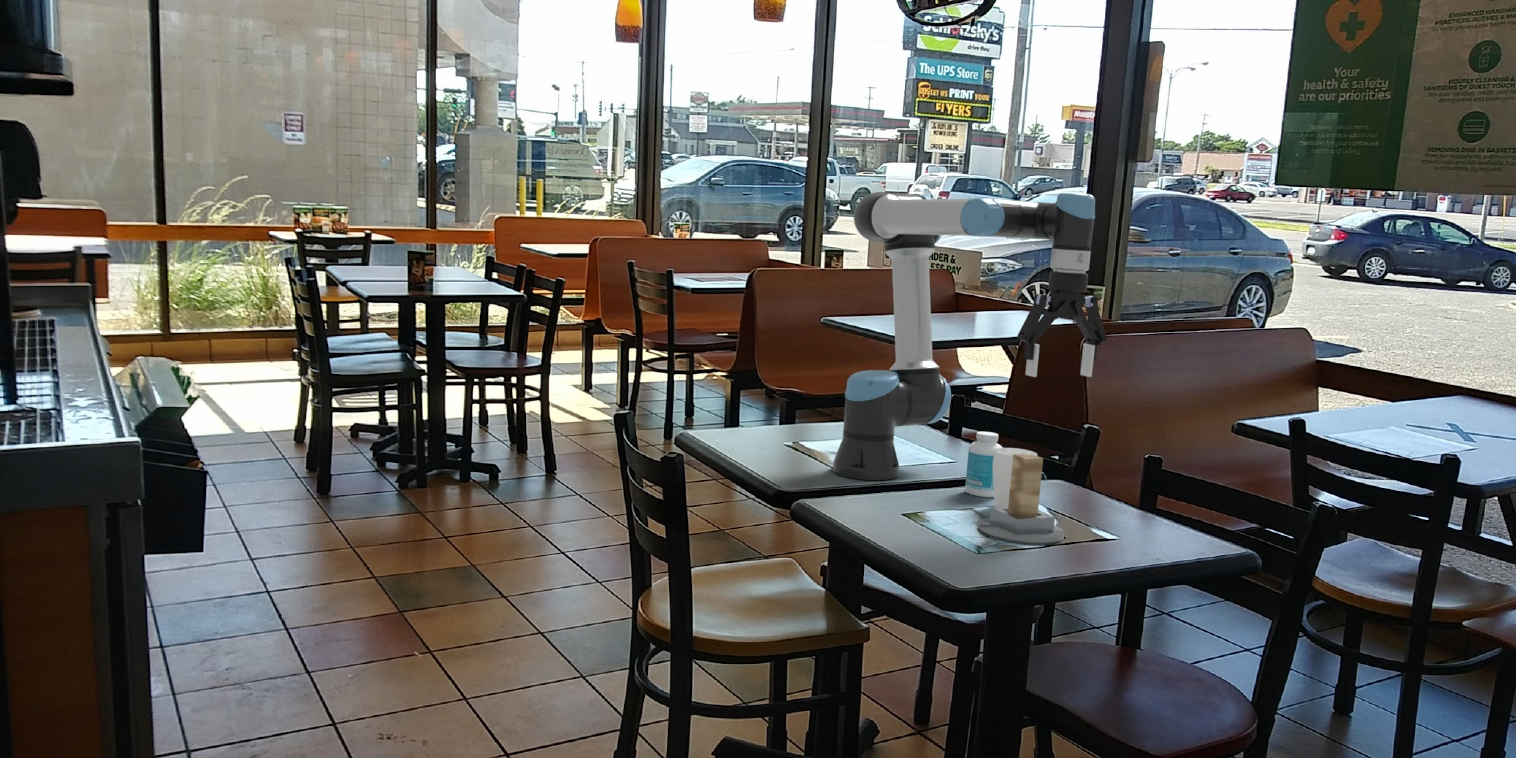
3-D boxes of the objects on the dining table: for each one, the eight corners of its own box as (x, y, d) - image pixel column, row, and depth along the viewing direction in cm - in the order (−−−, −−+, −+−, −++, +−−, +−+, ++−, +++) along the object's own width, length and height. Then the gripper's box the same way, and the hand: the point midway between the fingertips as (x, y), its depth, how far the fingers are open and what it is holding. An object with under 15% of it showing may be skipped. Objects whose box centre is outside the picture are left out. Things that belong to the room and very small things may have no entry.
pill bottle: (997, 500, 244) (1002, 438, 242) (962, 495, 246) (967, 434, 244) (1001, 492, 251) (1006, 432, 249) (967, 488, 253) (972, 428, 251)
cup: (1033, 516, 232) (1039, 458, 230) (988, 511, 234) (993, 454, 232) (1032, 505, 241) (1037, 450, 239) (988, 501, 243) (993, 446, 241)
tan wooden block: (1006, 525, 220) (1013, 454, 218) (1023, 524, 222) (1030, 453, 220) (1018, 530, 217) (1025, 458, 215) (1036, 529, 218) (1043, 458, 216)
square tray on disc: (962, 523, 224) (964, 503, 223) (1029, 519, 230) (1031, 499, 229) (1010, 547, 209) (1012, 525, 208) (1081, 541, 215) (1083, 521, 215)
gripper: (1028, 270, 220) (1018, 378, 223) (1131, 274, 230) (1120, 378, 233) (1006, 267, 227) (996, 372, 230) (1107, 272, 237) (1096, 373, 240)
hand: (1058, 376), depth 232 cm, fingers open, 13 cm apart
